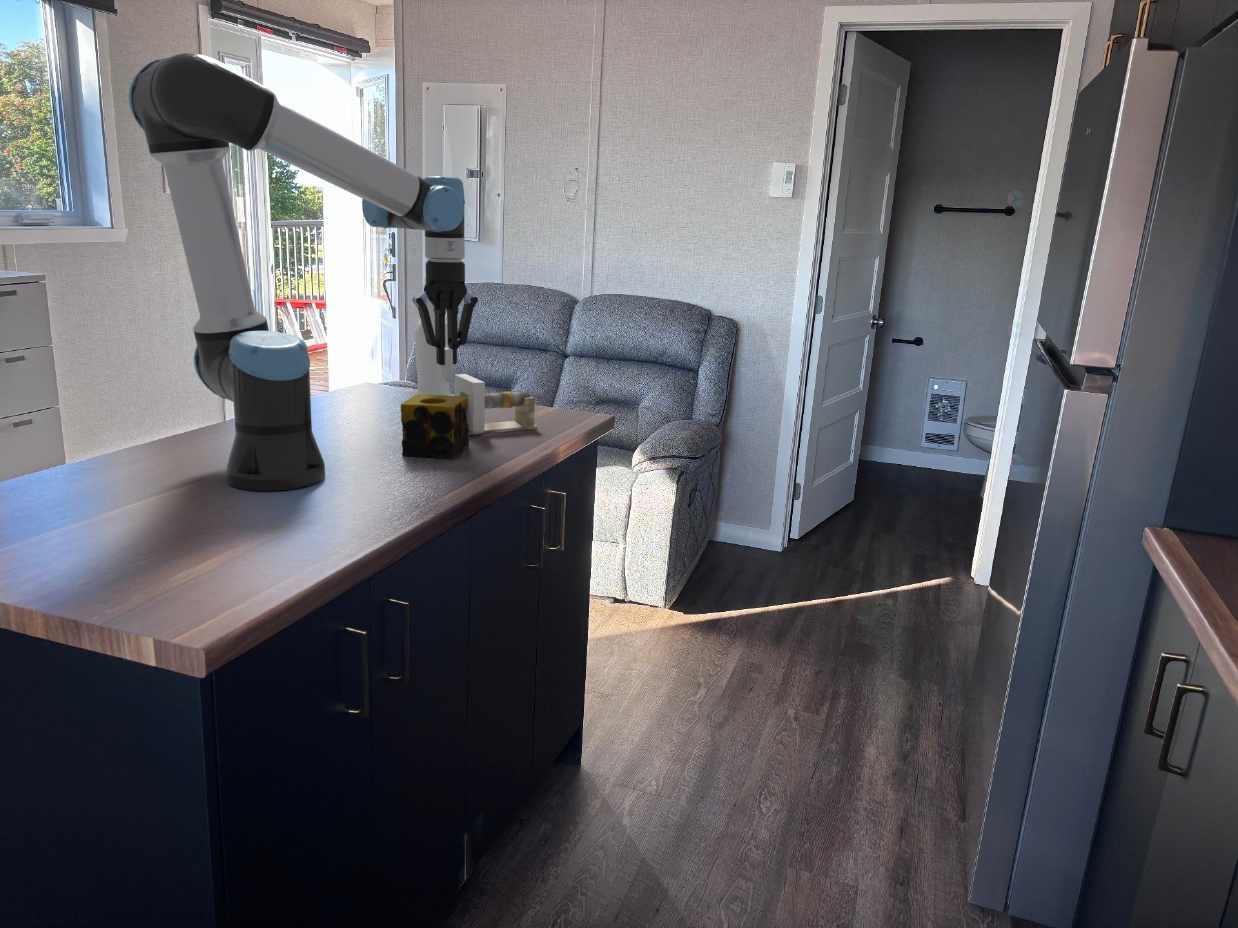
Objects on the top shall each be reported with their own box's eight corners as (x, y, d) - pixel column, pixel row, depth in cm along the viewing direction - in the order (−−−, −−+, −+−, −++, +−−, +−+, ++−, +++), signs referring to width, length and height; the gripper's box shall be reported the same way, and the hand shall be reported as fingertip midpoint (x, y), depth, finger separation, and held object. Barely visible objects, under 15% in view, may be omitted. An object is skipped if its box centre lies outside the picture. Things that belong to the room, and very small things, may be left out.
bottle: (413, 410, 206) (411, 274, 198) (449, 409, 208) (449, 275, 200) (417, 418, 198) (414, 277, 190) (454, 417, 201) (454, 278, 193)
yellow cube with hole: (469, 447, 176) (469, 396, 174) (455, 460, 167) (455, 406, 164) (417, 443, 177) (417, 393, 175) (400, 456, 168) (399, 403, 165)
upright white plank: (473, 432, 184) (473, 382, 181) (454, 421, 192) (454, 374, 189) (484, 431, 185) (484, 382, 182) (465, 420, 193) (465, 373, 191)
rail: (451, 436, 184) (451, 398, 182) (441, 430, 189) (440, 393, 187) (537, 428, 194) (537, 392, 191) (524, 422, 198) (525, 387, 196)
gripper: (419, 261, 171) (422, 386, 177) (484, 261, 178) (484, 382, 184) (405, 259, 177) (409, 379, 183) (469, 259, 184) (470, 375, 190)
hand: (447, 380), depth 184 cm, fingers closed
